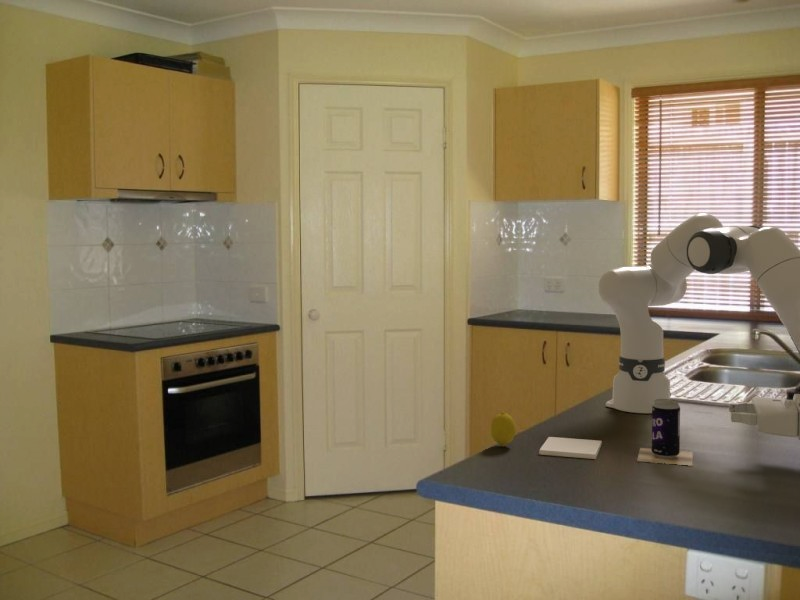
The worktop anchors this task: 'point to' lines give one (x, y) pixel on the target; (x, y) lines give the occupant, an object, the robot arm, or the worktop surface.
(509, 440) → the lemon
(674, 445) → the beverage can
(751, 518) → the worktop surface
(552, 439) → the mat
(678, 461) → the pad
